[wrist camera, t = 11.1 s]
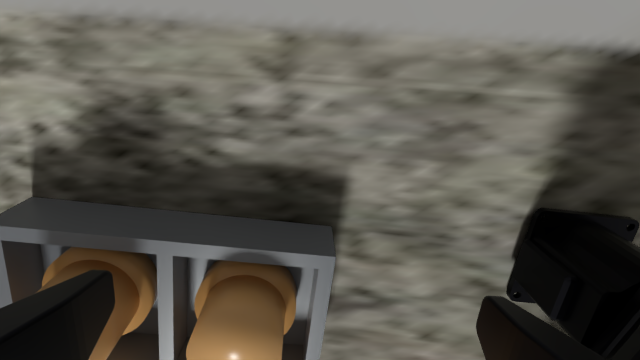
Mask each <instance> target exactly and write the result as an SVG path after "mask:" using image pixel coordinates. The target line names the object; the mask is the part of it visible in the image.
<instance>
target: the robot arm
mask: <svg viewBox="0 0 640 360" xmlns="http://www.w3.org/2000/svg"><path fill="white" fill-rule="evenodd" d="M543 215H545V217H544V218H543V219H541V217H542V216H543ZM628 225H629V226H628ZM627 226H628V227H627ZM638 228H639V223H638V222H637V221H636V220H634V219H632V218H630V217H623V216H613V215H604V214H594V213H585V212H576V211H566V210H557V209H547V208H540V209H538V210H537V211H535V213H534V214H533V217H532V220H531V223H530V226H529V228H528V231H527V234H526V237H525V240H524V242H523V244H522V247H521V250H520V253H519V256H518V259H517V261H516V264H515V267H514V270H513V273H512V277H511V280H510V283H509V286H508V289H507V295H508V297H509V298H510V299H511V300H512V301H516V302H527V303H537V305H538V306H539V307H540V308H541V309H542V310H543V311H544V312H545V313H546V315H547V316H548V317H549V318H550V319H551V320H554V321H557V323H558V324H559V325H560V326H561V327H562V328H563V329H564V330H565V331H566V332H567V333H568V335H569V336H570V337H569V336H567V335H566V334H564V333H562V332H561V331H559V330H557V329H556V328H554V327H552V326H551V325H549V324H547V323H546V322H544V321H542V320H541V319H539V318H537V317H536V316H534V315H532V314H531V313H529V312H527V311H526V310H524V309H522V308H521V307H519V306H517V305H516V304H514V303H512V302H511V301H509V300H507V299H506V298H504V297H501V296H486V297H484V299H483V301H482V304H481V308H480V312H479V315H478V319H477V323H476V330H477V335H478V338H479V341H480V344H481V347H482V350H483V353H484V356H485V359H486V360H640V247H638V246H636V245H635V244H633V243H632V241H633V239H634V237H635V235H636V232H637V230H638ZM516 292H517V293H516ZM514 293H516V294H514ZM114 306H115V292H114V283H113V276H112V273H111V272H110V271H107V270H89V271H87V272H85V273H82V274H80V275H78V276H75V277H73V278H71V279H68V280H66V281H63V282H61V283H59V284H56V285H54V286H52V287H49V288H47V289H45V290H42V291H40V292H37V293H35V294H33V295H30V296H28V297H26V298H23V299H21V300H19V301H16V302H14V303H11V304H9V305H7V306H4V307H2V308H0V360H89V358H90V356H91V354H92V352H93V350H94V348H95V346H96V344H97V342H98V340H99V338H100V336H101V334H102V332H103V330H104V328H105V326H106V324H107V322H108V320H109V318H110V316H111V314H112V312H113V310H114Z"/></svg>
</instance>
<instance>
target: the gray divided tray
mask: <svg viewBox="0 0 640 360" xmlns="http://www.w3.org/2000/svg"><path fill="white" fill-rule="evenodd" d="M70 247H81V248H92V249H103V250H114V251H125V252H136V253H145V254H146V255H147V256H148V257H149V258H150V259H151V260H152V262H153V263H154V265H155V267H156V269H157V290H158V297H157V300H156V301H155V303H154V305H153V306H152V308H151V310H150V311H149V313H148V315H147V316H146V318H145V320H144V321H143V322H142V323H141V324H140V325H139V326H138V327H137V328H136V329H134V330H133V331H131V332H129V333H127V334H124V335H122V336H121V337H120V339H119V341H118V342H117V344H116V345H115V347H114V348H113V350H112V351H111V353H110V355H109V356H108V358H107V359H106V360H319V359H320V353H321V347H322V341H323V334H324V328H325V322H326V316H327V309H328V303H329V297H330V291H331V284H332V278H333V272H334V266H335V259H336V254H335V247H334V240H333V232H332V226H323V225H313V224H303V223H293V222H283V221H272V220H262V219H252V218H242V217H232V216H222V215H212V214H201V213H191V212H181V211H171V210H161V209H151V208H140V207H130V206H120V205H110V204H100V203H90V202H80V201H69V200H59V199H49V198H39V197H31V198H29V199H27V200H25V201H23V202H21V203H19V204H17V205H16V206H14V207H12V208H10V209H8V210H6V211H4V212H3V213H1V214H0V308H2V307H4V306H7V305H9V304H11V303H14V302H16V301H19V300H21V299H23V298H26V297H28V296H30V295H33V294H35V293H36V292H37V291H38V290H40V289H41V288H42V280H43V276H44V274H45V272H46V270H47V268H48V267H49V266H50V265H51V264H52V262H53V261H55V260H56V259H57V258H58V257H59V256H61V255H62V254H63V253H64V252H65V251H67V250H68V249H69V248H70Z"/></svg>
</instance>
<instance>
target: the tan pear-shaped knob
mask: <svg viewBox="0 0 640 360" xmlns="http://www.w3.org/2000/svg"><path fill="white" fill-rule="evenodd" d="M89 270H107V271H110V272H111V273H112V276H113V283H114V292H115V306H114V310H113V312H112V314H111V316H110V318H109V320H108V322H107V324H106V326H105V328H104V330H103V332H102V334H101V336H100V338H99V340H98V342H97V344H96V346H95V348H94V350H93V352H92V354H91V356H90V358H89V360H106V359H107V358H108V356H109V355H110V353H111V351H112V350H113V348H114V347H115V345H116V344H117V342H118V341H119V339H120V337H121V336H122V335H124V334H127V333H129V332H131V331H133V330H134V329H136V328H137V327H138V326H139V325H140V324H141V323H142V322H143V321H144V320H145V318H146V316H147V315H148V313H149V311H150V310H151V308H152V306H153V305H154V303H155V301H156V300H157V297H158V290H157V269H156V267H155V265H154V263H153V262H152V260H151V259H150V258H149V257H148V256H147V255H146V254H145V253H136V252H125V251H114V250H103V249H92V248H81V247H70V248H69V249H68V250H67V251H65V252H64V253H63V254H62V255H61V256H59V257H58V258H57V259H56V260H55V261H53V262H52V264H51V265H50V266H49V267H48V268H47V270H46V272H45V274H44V276H43V280H42V288H41V289H40V290H38V291H37V292H40V291H42V290H45V289H47V288H49V287H52V286H54V285H56V284H59V283H61V282H63V281H66V280H68V279H71V278H73V277H75V276H78V275H80V274H82V273H85V272H87V271H89ZM37 292H36V293H37Z"/></svg>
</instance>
